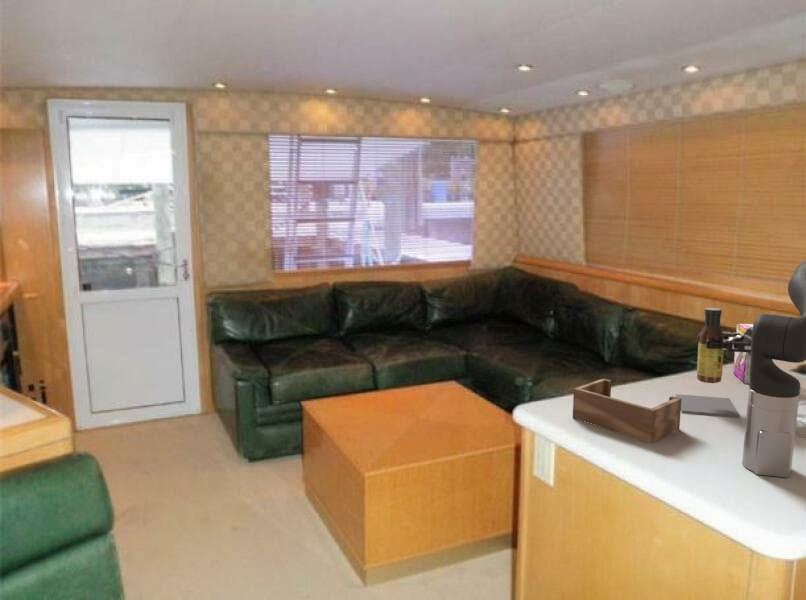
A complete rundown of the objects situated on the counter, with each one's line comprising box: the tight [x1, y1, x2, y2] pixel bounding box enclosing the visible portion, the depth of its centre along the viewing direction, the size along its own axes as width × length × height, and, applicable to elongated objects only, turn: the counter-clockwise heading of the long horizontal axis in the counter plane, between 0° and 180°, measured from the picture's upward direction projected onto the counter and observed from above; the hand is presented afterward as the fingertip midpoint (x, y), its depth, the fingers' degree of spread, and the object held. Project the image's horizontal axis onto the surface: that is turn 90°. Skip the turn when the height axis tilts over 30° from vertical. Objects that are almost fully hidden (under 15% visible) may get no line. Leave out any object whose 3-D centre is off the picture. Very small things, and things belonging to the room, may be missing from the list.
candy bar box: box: [732, 323, 754, 385], centre depth 198 cm, size 11×5×16 cm, turn 168°
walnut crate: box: [572, 377, 682, 444], centre depth 163 cm, size 13×22×8 cm, turn 40°
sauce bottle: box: [696, 307, 725, 384], centre depth 172 cm, size 6×6×20 cm
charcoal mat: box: [674, 393, 741, 419], centre depth 176 cm, size 14×14×1 cm
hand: (702, 341), depth 173 cm, fingers closed on sauce bottle, 6 cm apart
